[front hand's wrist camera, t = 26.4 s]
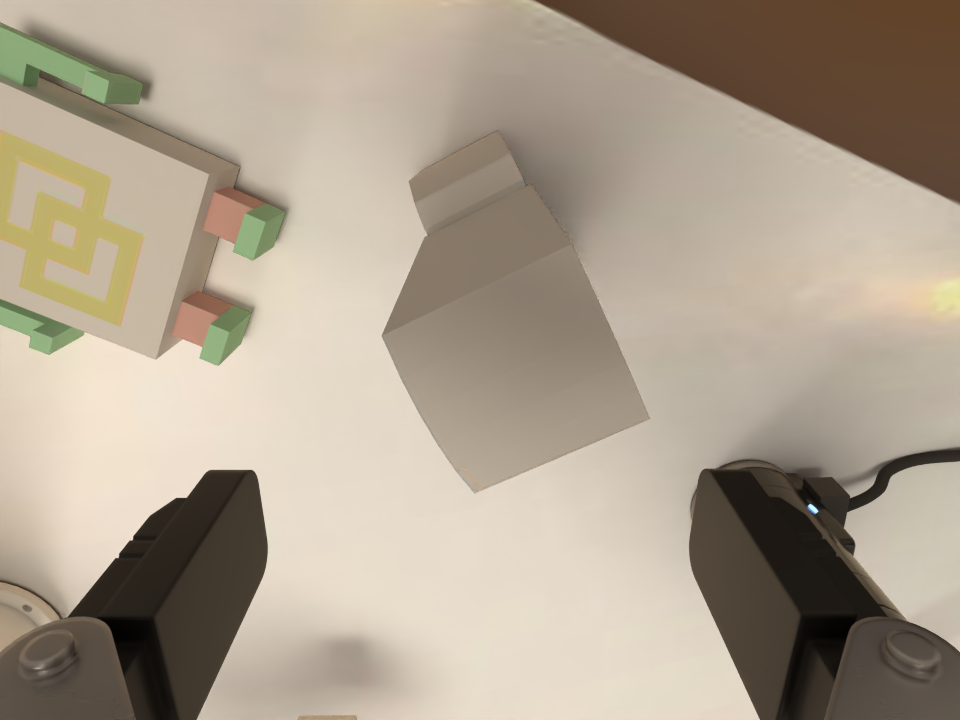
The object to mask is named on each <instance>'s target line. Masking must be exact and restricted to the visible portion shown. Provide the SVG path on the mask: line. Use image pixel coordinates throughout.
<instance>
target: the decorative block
mask: <svg viewBox="0 0 960 720" xmlns="http://www.w3.org/2000/svg"><path fill="white" fill-rule="evenodd" d="M40 70H42V71H44V72H47V73H49V74H51V75H53V76H55V77H58V78H60V79H62V80H64V81H67V82H69V83H71V84H73V85H75V86H78V87H80V88H82V92H81V94H84V95H86V96H88V97H90V98H93V99H95V100H97V101H99V102H101V103H104V104H139V100H140V96H141V92H142V88H143V83H141V82H139V81H136V80H134V79H132V78H130V77H128V76H125V75H123V74H115V73H110V72H108V71H106V70H103V69H101V68H99V67H97V66H95V65H92V64H90V63H88V62H86V61H84V60H81V59H79V58H77V57H75V56H73V55H71V54H68V53H66V52H64V51H62V50H60V49H57V48H55V47H53V46H51V45H49V44H46V43H44V42H42V41H40V40H38V39H36V38H33V37H31V36H29V35H27V34H25V33H22V32H20V31H18V30H16V29H14V28H11V27H9V26H7V25H5V24H3V23H1V22H0V325H3V326H5V327H8V328H11V329H13V330H16V331H18V332H21V333H24V334H26V335H29V336H31V339H30V344H29V347H30V348H32V349H35V350H37V351H40V352H43V353H45V354H48V355H50V354H51V353H53V352H55V351H57V350H58V349H60V348H62V347H64V346H65V345H67V344H69V343H71V342H72V341H74V340H76V339H78V338H80V337H81V336H83V335H84V332H86V333H89V334H91V335H94V336H97V337H99V338H102V339H104V340H107V341H109V342H112V343H114V344H117V345H120V346H122V347H125V348H127V349H130V350H132V351H135V352H137V353H140V354H143V355H145V356H148V357H150V358H153V359H155V360H156V359H157V358H159V357H160V356H161V355H162V354H164V353H165V352H166V351H168V350H169V349H170V348H172V347H173V346H174V345H175V344H177V343H178V342H179V341H181V340H182V339H184V340H186V341H189V342H191V343H194V344H196V345H199V346H201V347H203V348H202V351H201V355H200V359H203V360H205V361H208V362H210V363H213V364H215V365H218V366H219V365H220V364H221V363H222V362H223V361H224V360H225V359H226V358H227V357H228V356H229V355H230V354H231V353H232V352H233V351H234V350H235V349H236V348H237V347H238V346H239V345H240V344H241V342H242V339H243V336H244V333H245V330H246V327H247V324H248V321H249V318H250V315H251V312H248V311H246V310H243V309H241V308H239V307H236V306H234V305H231V304H229V303H226V302H224V301H222V300H219V299H217V298H214V297H212V296H209V295H207V294H205V293H202V291H203V287H204V284H205V281H206V277H207V274H208V271H209V268H210V264H211V261H212V258H213V254H214V251H215V248H216V245H217V241H218V238H219V237H221V238H223V239H226V240H228V241H230V242H233V243H235V247H234V250H233V252H234V253H237V254H239V255H241V256H244V257H246V258H248V259H251V260H254V259H256V258H258V257H259V256H261V255H262V254H264V253H265V252H267V251H268V250H270V249H271V248H273V247H274V244H275V241H276V238H277V235H278V233H279V230H280V227H281V224H282V221H283V218H284V215H285V211H283V210H280V209H278V208H276V207H274V206H271V205H269V204H267V203H265V202H262V201H260V200H258V199H255V198H253V197H251V196H249V195H246V194H244V193H242V192H240V191H237V190H235V189H234V185H235V182H236V179H237V176H238V172H239V169H240V167H239V166H237V165H234V164H232V163H230V162H228V161H225V160H223V159H221V158H219V157H217V156H214V155H212V154H210V153H208V152H205V151H203V150H201V149H199V148H196V147H194V146H192V145H190V144H188V143H185V142H183V141H181V140H179V139H176V138H174V137H172V136H170V135H167V134H165V133H163V132H161V131H158V130H156V129H154V128H152V127H150V126H147V125H145V124H143V123H141V122H138V121H136V120H134V119H132V118H129V117H127V116H125V115H123V114H121V113H118V112H116V111H114V110H112V109H109V108H107V107H105V106H103V105H100V104H98V103H96V102H94V101H92V100H89V99H87V98H85V97H83V96H80V95H78V94H76V93H74V92H71V91H69V90H67V89H65V88H63V87H60V86H58V85H56V84H54V83H51V82H49V81H47V80H45V79H42V78H40V77H39V73H40Z"/></svg>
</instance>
